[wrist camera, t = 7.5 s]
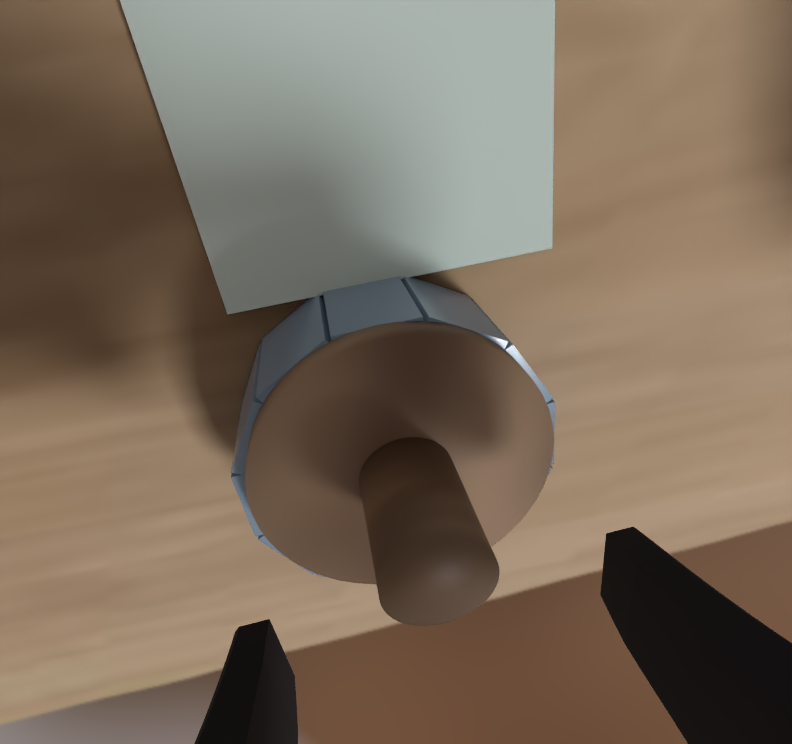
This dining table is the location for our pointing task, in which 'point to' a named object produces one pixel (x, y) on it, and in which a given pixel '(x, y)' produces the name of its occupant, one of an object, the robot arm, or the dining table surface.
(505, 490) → the lid
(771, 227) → the dining table surface
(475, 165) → the mat
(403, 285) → the bowl
